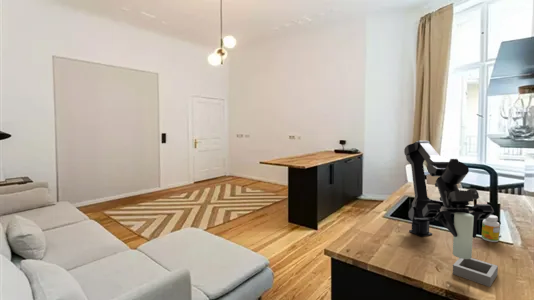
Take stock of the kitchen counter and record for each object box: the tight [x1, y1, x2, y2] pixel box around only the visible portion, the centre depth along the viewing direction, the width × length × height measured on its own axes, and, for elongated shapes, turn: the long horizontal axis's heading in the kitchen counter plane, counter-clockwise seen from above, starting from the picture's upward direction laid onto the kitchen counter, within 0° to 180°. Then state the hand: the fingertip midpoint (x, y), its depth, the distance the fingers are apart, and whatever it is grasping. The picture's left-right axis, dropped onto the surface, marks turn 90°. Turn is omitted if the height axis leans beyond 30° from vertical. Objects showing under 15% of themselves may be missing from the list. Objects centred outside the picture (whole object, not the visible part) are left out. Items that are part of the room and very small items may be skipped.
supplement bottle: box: [481, 214, 501, 243], centre depth 109 cm, size 5×5×10 cm
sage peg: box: [452, 212, 474, 259], centre depth 84 cm, size 5×5×13 cm
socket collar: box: [452, 257, 499, 288], centre depth 86 cm, size 9×9×3 cm
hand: (465, 236), depth 83 cm, fingers closed on sage peg, 5 cm apart
